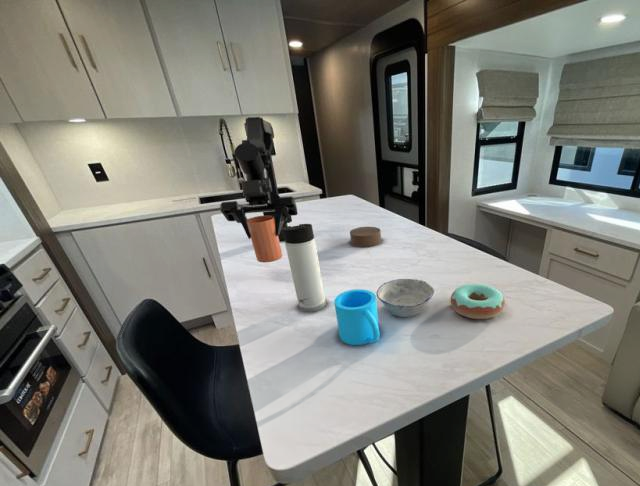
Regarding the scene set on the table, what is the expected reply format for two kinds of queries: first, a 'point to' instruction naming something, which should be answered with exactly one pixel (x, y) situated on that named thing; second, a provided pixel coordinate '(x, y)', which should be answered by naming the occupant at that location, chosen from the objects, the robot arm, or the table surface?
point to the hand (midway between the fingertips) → (263, 236)
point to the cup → (264, 238)
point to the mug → (357, 317)
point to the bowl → (405, 296)
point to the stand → (365, 236)
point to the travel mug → (304, 266)
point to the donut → (477, 301)
